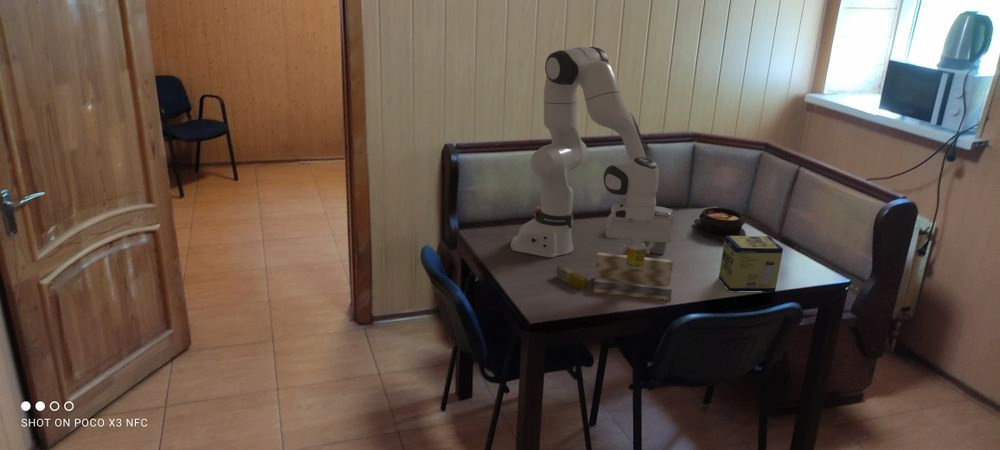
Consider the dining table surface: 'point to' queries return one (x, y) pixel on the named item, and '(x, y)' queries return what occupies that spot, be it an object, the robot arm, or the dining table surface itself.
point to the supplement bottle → (636, 254)
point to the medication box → (571, 277)
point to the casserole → (720, 223)
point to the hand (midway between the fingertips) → (636, 252)
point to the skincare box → (659, 246)
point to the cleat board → (633, 277)
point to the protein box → (750, 263)
